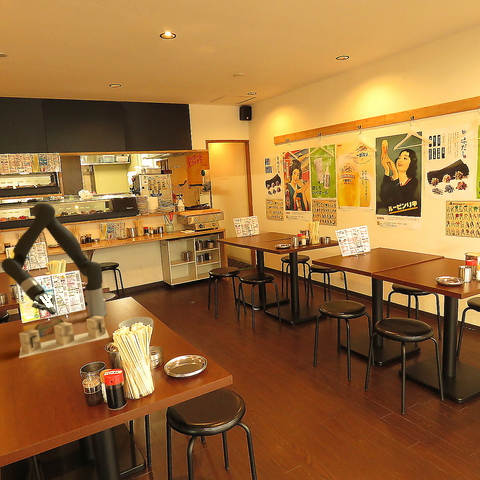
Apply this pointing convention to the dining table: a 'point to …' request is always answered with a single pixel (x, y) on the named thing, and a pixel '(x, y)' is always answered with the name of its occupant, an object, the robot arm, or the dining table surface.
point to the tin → (48, 327)
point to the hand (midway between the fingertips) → (54, 313)
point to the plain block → (64, 333)
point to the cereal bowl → (134, 320)
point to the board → (53, 346)
